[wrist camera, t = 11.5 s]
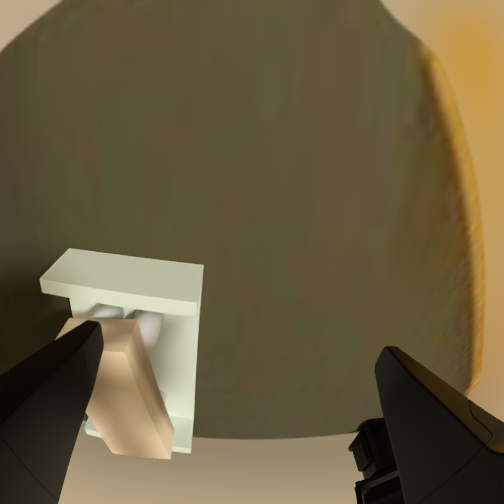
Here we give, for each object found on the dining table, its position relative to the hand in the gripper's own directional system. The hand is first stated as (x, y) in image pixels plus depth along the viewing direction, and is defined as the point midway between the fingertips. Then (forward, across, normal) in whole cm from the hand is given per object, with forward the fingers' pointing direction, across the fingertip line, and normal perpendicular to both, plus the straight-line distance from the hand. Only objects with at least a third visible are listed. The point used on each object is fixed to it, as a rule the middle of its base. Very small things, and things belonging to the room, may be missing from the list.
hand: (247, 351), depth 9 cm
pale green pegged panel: (+12, +7, +12) cm, 18 cm away
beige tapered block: (+8, +7, +12) cm, 16 cm away
